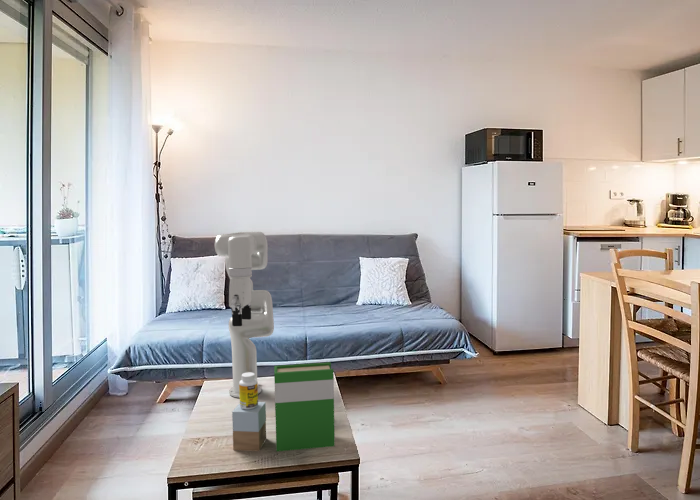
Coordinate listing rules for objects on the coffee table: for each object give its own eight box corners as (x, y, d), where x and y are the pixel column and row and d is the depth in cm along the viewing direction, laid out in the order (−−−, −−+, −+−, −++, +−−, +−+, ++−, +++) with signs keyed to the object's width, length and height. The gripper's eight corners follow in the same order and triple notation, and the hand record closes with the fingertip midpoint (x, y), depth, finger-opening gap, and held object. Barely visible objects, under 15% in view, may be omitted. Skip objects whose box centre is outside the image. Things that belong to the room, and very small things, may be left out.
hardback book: (331, 435, 156) (330, 362, 154) (334, 446, 148) (333, 369, 146) (276, 440, 153) (274, 365, 151) (276, 451, 145) (274, 373, 144)
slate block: (241, 419, 154) (240, 401, 154) (266, 420, 153) (265, 402, 153) (232, 431, 146) (232, 411, 146) (258, 431, 145) (258, 412, 145)
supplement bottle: (247, 411, 146) (246, 378, 145) (236, 407, 149) (235, 374, 148) (262, 406, 150) (261, 373, 149) (250, 401, 153) (249, 370, 153)
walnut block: (241, 437, 155) (241, 419, 154) (266, 438, 154) (265, 420, 153) (233, 450, 147) (232, 431, 146) (259, 451, 146) (258, 431, 145)
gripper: (238, 269, 172) (239, 316, 174) (220, 276, 155) (222, 328, 157) (258, 269, 172) (260, 317, 173) (243, 276, 155) (244, 328, 156)
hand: (242, 322), depth 165 cm, fingers open, 9 cm apart
